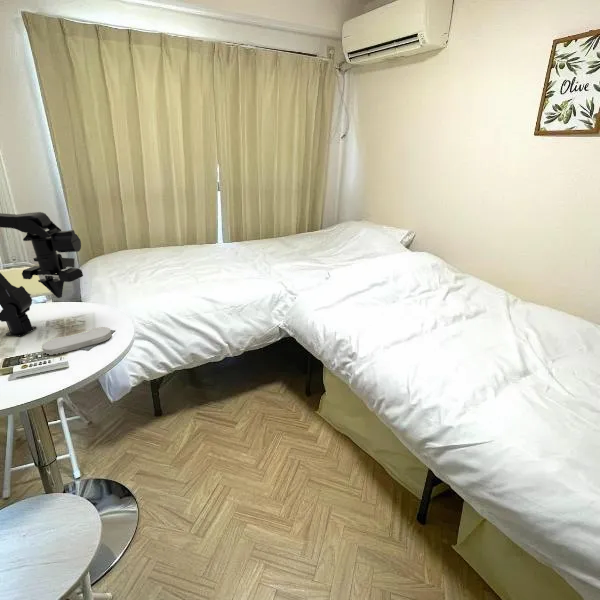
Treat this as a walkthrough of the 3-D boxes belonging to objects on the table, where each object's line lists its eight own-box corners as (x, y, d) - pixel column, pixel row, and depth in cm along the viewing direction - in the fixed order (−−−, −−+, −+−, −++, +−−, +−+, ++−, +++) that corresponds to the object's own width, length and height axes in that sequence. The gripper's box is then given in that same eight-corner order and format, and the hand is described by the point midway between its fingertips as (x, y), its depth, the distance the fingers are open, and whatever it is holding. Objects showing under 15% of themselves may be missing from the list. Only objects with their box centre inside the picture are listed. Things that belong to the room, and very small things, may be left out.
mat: (66, 348, 120) (66, 347, 120) (95, 329, 132) (95, 328, 131) (88, 350, 118) (88, 349, 118) (115, 331, 130) (115, 330, 130)
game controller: (43, 347, 120) (44, 359, 114) (41, 341, 119) (42, 352, 113) (109, 330, 130) (114, 340, 124) (108, 324, 129) (112, 334, 123)
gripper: (88, 247, 126) (100, 290, 133) (42, 245, 130) (55, 287, 137) (63, 257, 116) (76, 303, 123) (13, 254, 120) (29, 299, 127)
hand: (59, 297), depth 127 cm, fingers closed
